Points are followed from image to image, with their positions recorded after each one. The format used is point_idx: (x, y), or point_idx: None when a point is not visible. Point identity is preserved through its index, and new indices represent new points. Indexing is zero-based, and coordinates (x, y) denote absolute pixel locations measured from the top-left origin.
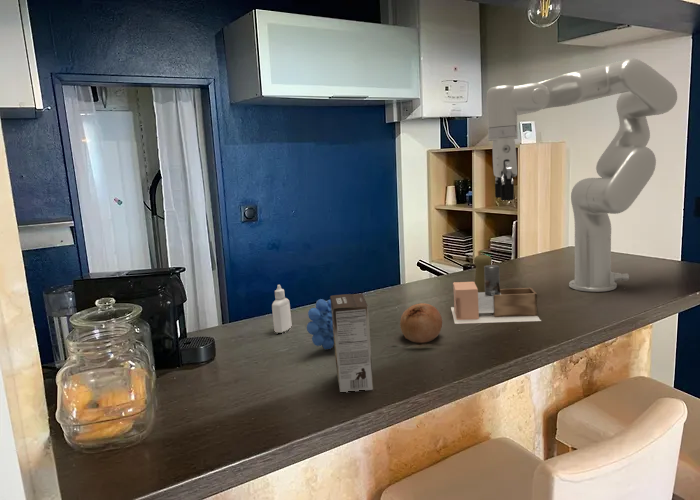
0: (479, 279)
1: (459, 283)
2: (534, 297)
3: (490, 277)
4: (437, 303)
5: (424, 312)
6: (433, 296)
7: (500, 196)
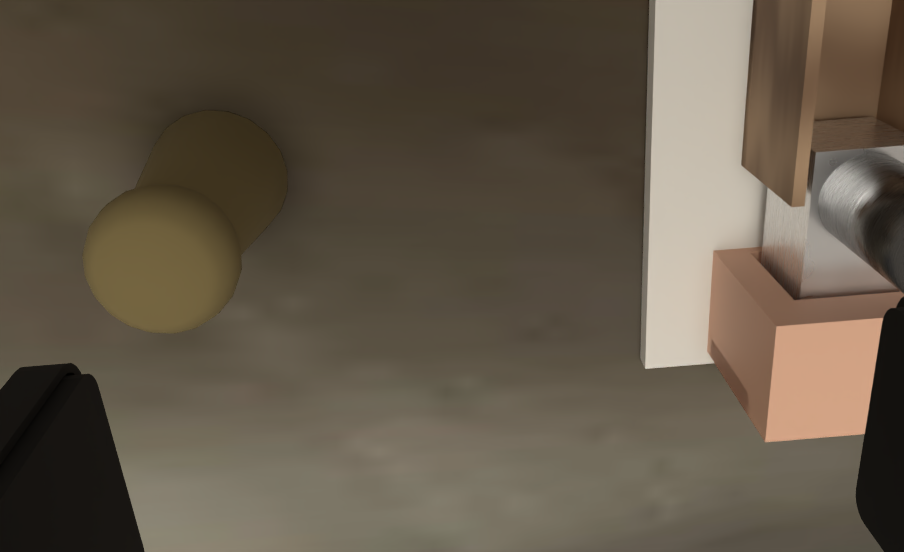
0: (253, 238)
1: (801, 408)
2: None
3: None
4: (485, 425)
5: None
6: (337, 451)
7: (120, 502)
